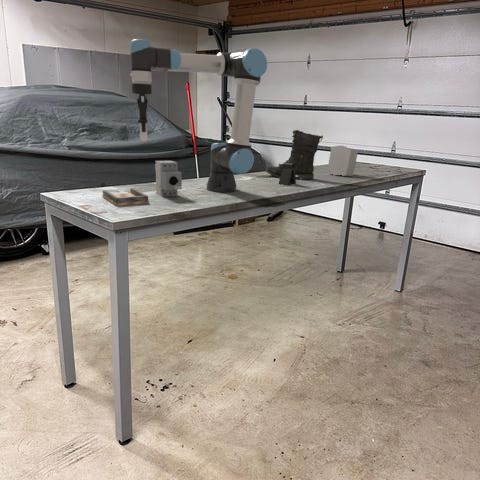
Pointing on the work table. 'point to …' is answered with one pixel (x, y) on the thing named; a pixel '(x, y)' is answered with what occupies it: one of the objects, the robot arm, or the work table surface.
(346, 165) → the electrical switch box
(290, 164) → the door stopper
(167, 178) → the circuit breaker
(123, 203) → the track
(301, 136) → the boot
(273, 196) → the work table surface
